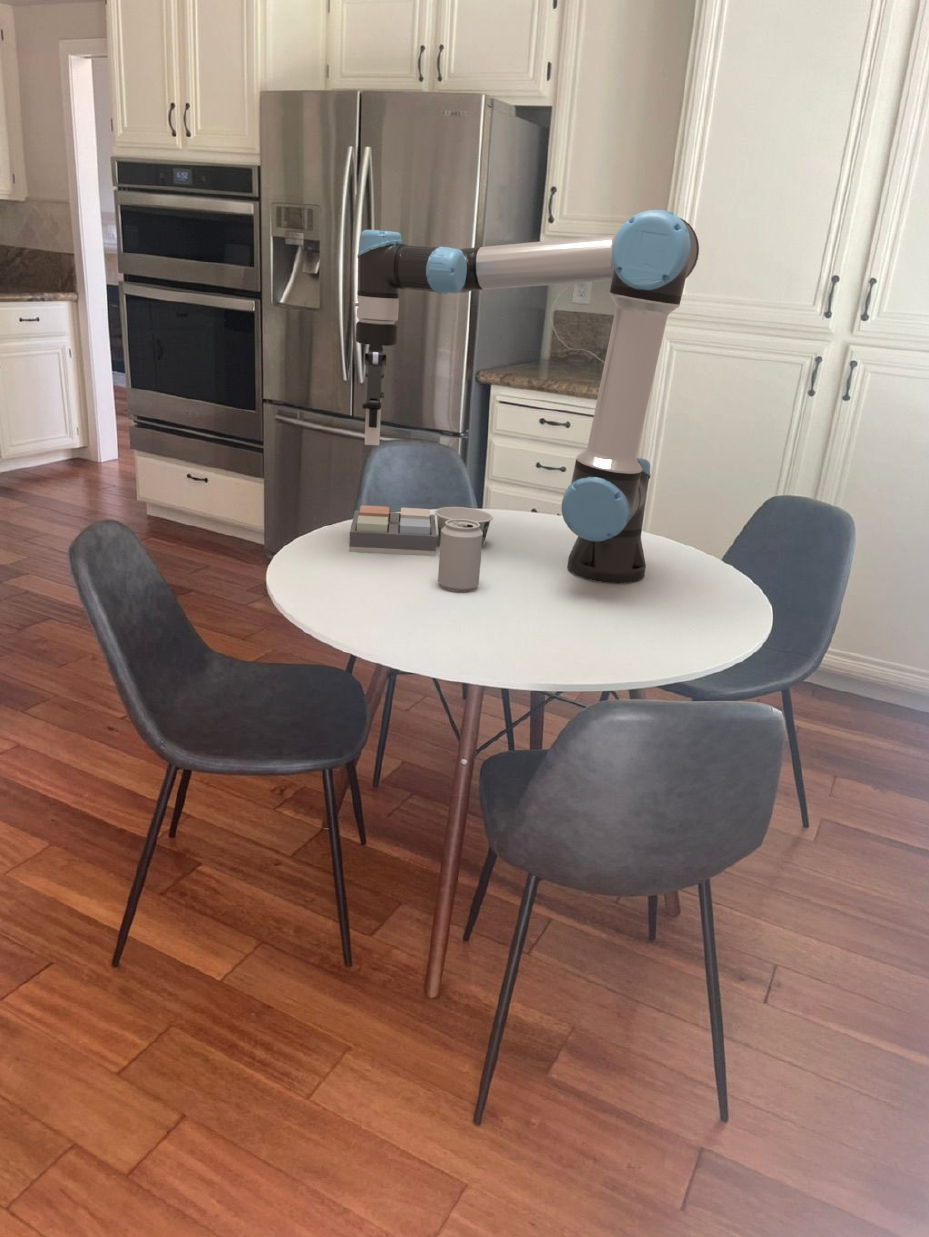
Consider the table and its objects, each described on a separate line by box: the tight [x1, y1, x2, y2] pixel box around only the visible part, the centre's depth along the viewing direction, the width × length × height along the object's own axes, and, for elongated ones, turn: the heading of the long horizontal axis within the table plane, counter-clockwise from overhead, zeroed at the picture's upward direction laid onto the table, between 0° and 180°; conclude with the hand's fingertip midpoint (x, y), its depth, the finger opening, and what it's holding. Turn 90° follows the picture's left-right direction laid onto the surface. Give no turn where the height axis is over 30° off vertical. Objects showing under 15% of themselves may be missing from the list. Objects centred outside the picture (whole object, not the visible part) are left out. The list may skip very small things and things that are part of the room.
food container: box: [434, 506, 494, 548], centre depth 195 cm, size 12×12×6 cm
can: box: [437, 519, 483, 593], centre depth 168 cm, size 8×8×12 cm
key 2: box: [358, 504, 390, 521], centre depth 196 cm, size 6×6×2 cm
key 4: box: [400, 507, 431, 519], centre depth 197 cm, size 6×6×2 cm
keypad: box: [348, 510, 437, 557], centre depth 194 cm, size 17×17×4 cm
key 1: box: [357, 515, 388, 533], centre depth 188 cm, size 6×6×2 cm
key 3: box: [400, 518, 430, 535], centre depth 189 cm, size 6×6×2 cm
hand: (372, 438), depth 179 cm, fingers open, 13 cm apart
